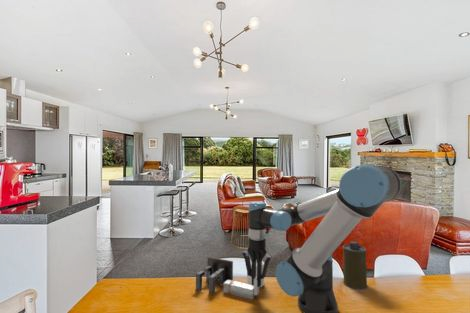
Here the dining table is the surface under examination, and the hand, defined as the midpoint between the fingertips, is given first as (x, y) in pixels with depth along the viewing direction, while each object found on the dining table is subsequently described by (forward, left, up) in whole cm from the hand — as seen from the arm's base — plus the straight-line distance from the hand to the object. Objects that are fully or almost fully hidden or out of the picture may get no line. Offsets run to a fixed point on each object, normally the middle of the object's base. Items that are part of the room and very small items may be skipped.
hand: (256, 293), depth 103 cm
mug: (+5, -13, -2) cm, 14 cm away
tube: (+8, 0, -2) cm, 8 cm away
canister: (-39, -33, -2) cm, 51 cm away
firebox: (+22, -1, -2) cm, 22 cm away
